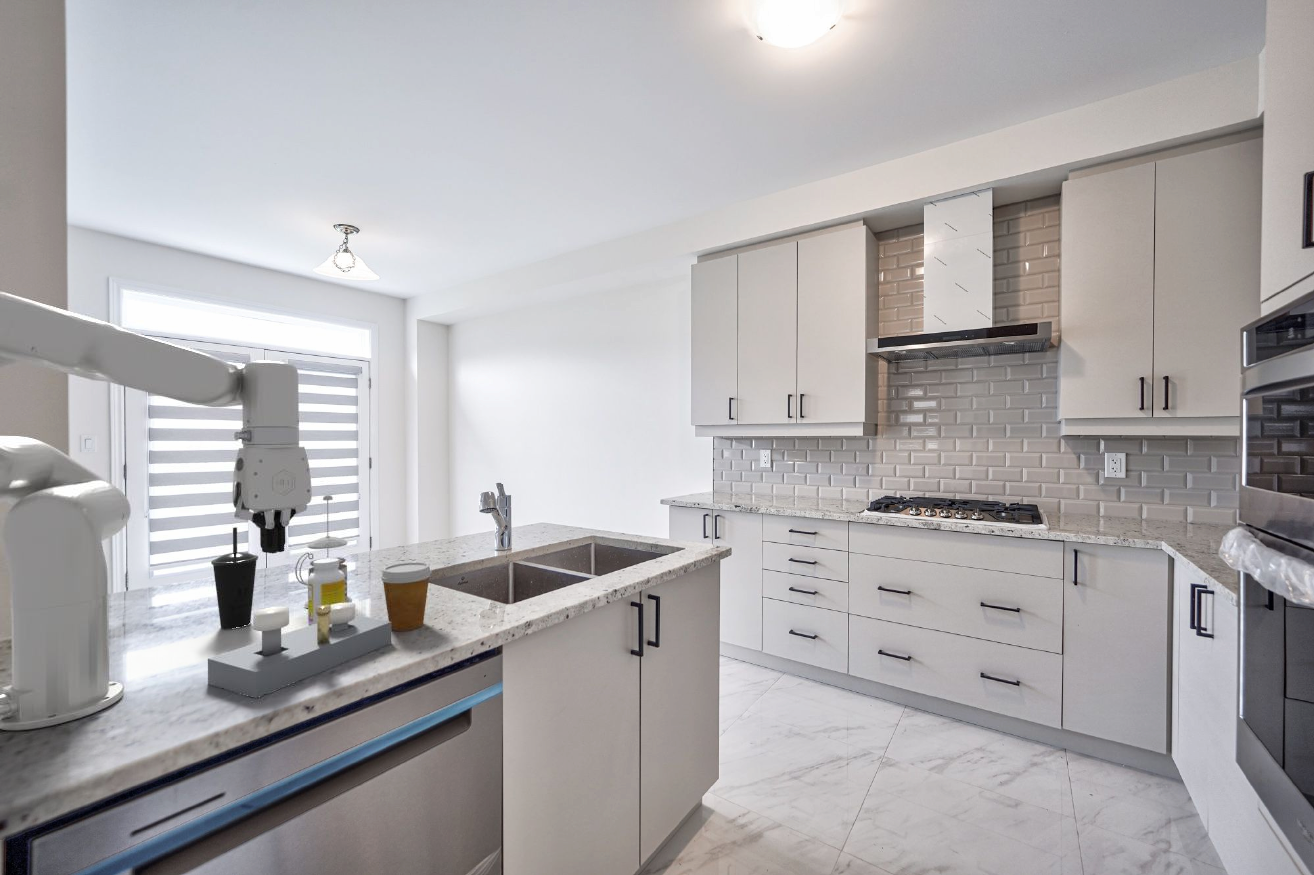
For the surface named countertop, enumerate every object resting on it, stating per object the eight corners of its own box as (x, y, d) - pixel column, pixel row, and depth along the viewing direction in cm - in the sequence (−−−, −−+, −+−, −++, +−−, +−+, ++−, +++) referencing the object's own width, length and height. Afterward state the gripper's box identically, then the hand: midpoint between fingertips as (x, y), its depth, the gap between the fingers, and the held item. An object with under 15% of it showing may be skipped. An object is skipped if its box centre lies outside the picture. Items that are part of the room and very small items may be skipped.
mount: (255, 698, 83) (255, 671, 83) (207, 683, 88) (207, 658, 88) (391, 643, 105) (391, 621, 105) (347, 633, 110) (347, 613, 110)
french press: (361, 600, 131) (360, 494, 131) (309, 614, 121) (309, 499, 121) (337, 594, 136) (336, 491, 136) (285, 607, 126) (285, 496, 126)
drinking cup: (201, 630, 112) (201, 529, 112) (238, 617, 119) (238, 523, 119) (232, 633, 110) (231, 531, 110) (267, 620, 117) (267, 525, 117)
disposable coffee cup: (426, 615, 121) (425, 559, 121) (436, 628, 113) (436, 568, 113) (377, 623, 116) (376, 565, 116) (384, 637, 108) (384, 575, 108)
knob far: (336, 650, 99) (336, 612, 99) (318, 646, 101) (318, 608, 101) (360, 641, 103) (360, 604, 103) (342, 637, 105) (342, 601, 105)
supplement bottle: (352, 617, 120) (352, 557, 120) (331, 628, 113) (330, 564, 113) (322, 616, 120) (322, 556, 120) (300, 626, 114) (300, 563, 114)
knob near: (265, 660, 88) (265, 617, 88) (246, 655, 90) (246, 613, 90) (296, 649, 92) (295, 608, 92) (277, 645, 94) (277, 605, 94)
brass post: (321, 645, 93) (321, 609, 93) (312, 643, 94) (312, 607, 94) (333, 640, 95) (333, 605, 95) (325, 638, 96) (325, 604, 96)
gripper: (235, 439, 82) (237, 564, 83) (330, 438, 96) (331, 544, 96) (205, 439, 85) (207, 559, 86) (301, 437, 99) (303, 541, 99)
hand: (273, 551), depth 91 cm, fingers closed
